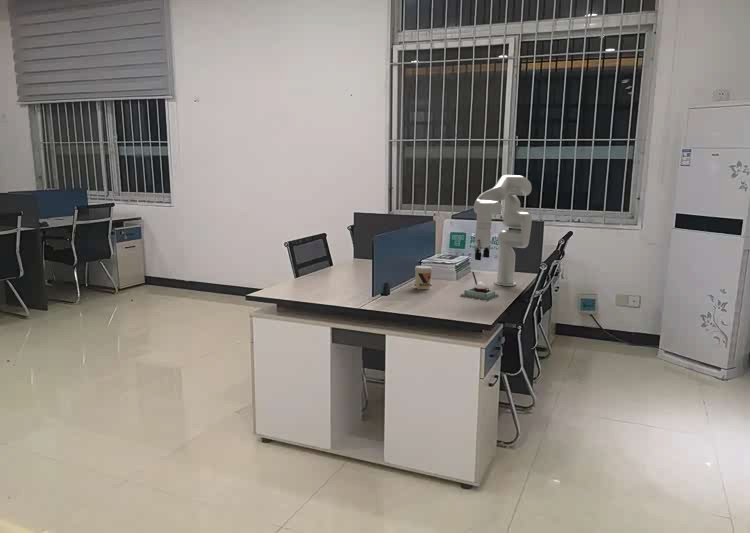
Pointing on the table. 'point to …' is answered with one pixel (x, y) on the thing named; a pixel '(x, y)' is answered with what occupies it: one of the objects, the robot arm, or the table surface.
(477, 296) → the holder board
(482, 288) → the cocoa
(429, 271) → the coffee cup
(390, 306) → the table surface
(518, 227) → the robot arm
